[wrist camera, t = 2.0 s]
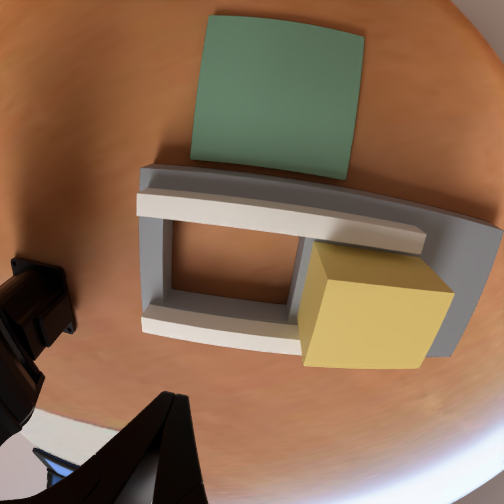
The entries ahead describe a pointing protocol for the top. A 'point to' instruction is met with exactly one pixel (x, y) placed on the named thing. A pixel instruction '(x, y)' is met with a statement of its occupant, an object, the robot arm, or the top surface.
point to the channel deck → (310, 230)
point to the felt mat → (277, 95)
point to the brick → (369, 309)
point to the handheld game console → (54, 467)
